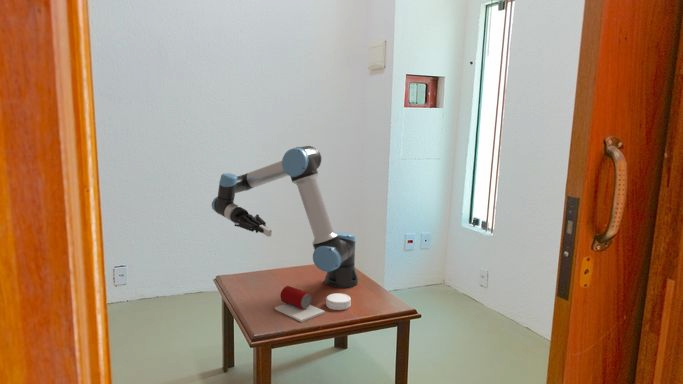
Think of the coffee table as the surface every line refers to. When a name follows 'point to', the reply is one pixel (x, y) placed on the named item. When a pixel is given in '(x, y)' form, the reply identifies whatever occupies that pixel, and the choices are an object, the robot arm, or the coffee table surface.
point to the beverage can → (295, 297)
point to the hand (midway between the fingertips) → (270, 233)
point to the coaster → (338, 301)
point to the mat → (299, 312)
